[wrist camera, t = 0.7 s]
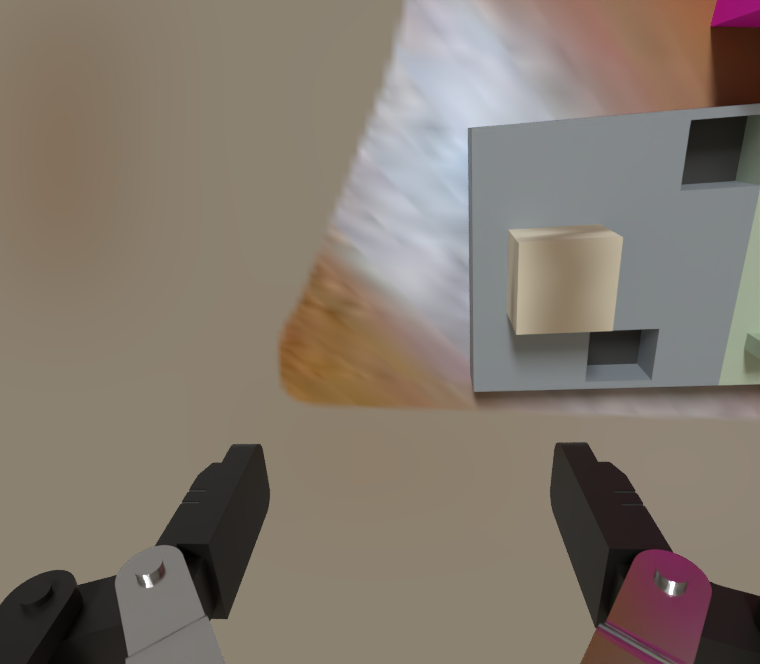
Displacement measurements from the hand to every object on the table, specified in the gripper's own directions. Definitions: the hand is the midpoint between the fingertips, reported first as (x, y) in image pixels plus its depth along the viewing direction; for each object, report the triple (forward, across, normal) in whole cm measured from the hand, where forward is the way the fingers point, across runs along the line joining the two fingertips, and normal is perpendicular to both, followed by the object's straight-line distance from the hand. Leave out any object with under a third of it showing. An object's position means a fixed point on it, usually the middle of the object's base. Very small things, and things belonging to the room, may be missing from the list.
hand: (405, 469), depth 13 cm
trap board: (+20, -15, -1) cm, 25 cm away
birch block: (+17, -8, 0) cm, 19 cm away
